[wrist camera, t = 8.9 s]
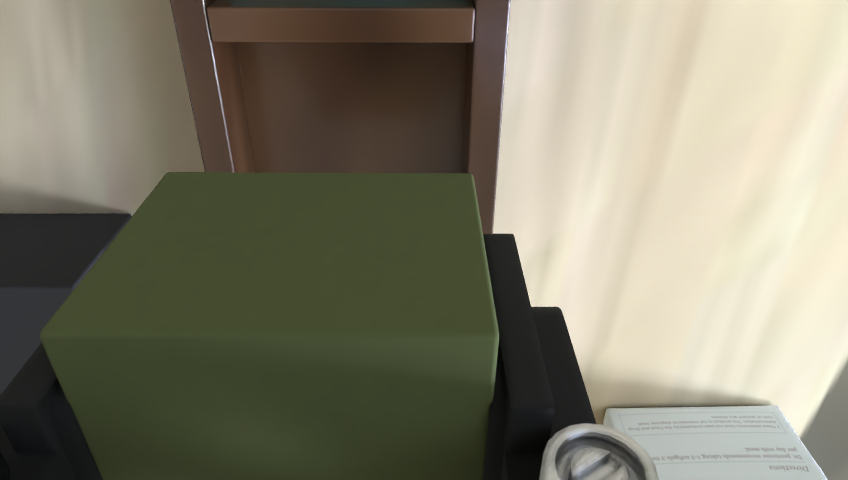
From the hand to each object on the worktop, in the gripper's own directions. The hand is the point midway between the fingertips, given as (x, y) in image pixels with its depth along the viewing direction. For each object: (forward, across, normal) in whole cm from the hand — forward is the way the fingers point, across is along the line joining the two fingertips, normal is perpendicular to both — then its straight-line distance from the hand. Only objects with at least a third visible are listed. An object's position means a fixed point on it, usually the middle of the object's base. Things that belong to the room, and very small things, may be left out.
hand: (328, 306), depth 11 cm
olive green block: (0, 0, 0) cm, 0 cm away
